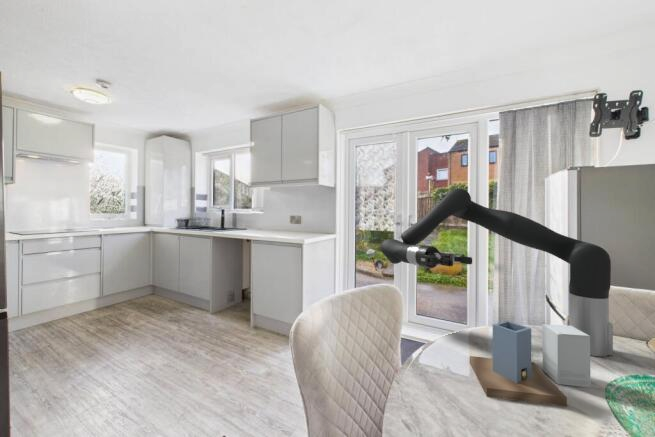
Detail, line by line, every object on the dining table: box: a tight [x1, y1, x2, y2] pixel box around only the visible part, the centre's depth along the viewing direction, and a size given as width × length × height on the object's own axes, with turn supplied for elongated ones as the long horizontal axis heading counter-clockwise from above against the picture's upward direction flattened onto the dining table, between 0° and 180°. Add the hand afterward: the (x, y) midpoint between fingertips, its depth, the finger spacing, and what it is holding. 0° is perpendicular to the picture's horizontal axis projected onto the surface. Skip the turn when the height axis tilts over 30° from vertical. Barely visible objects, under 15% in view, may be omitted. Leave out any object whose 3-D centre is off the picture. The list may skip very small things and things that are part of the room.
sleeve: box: [492, 320, 532, 383], centre depth 73 cm, size 6×6×12 cm
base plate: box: [469, 355, 568, 407], centre depth 73 cm, size 16×16×2 cm
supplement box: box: [541, 323, 591, 388], centre depth 75 cm, size 7×7×13 cm
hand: (462, 261), depth 88 cm, fingers open, 8 cm apart
